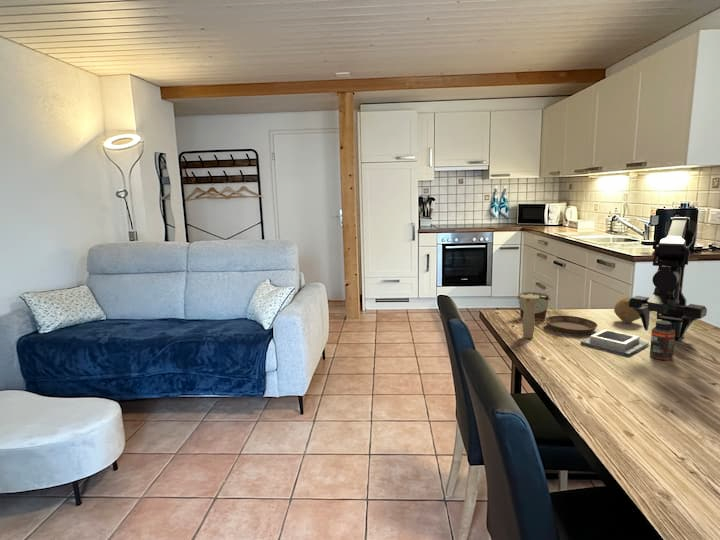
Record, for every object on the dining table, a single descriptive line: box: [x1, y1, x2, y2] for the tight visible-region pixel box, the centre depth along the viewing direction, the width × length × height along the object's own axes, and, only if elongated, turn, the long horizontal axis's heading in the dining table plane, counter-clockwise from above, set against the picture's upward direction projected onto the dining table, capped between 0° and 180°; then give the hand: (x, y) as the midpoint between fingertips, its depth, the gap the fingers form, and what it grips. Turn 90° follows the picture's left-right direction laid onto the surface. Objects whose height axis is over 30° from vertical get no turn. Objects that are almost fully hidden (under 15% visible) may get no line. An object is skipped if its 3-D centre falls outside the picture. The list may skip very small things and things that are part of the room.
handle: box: [520, 295, 539, 339], centre depth 154 cm, size 5×6×15 cm
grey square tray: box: [580, 328, 650, 358], centre depth 145 cm, size 15×15×3 cm
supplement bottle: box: [649, 320, 676, 361], centre depth 133 cm, size 6×6×11 cm
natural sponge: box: [613, 296, 641, 324], centre depth 168 cm, size 9×9×10 cm
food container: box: [517, 291, 551, 321], centre depth 179 cm, size 12×6×10 cm, turn 71°
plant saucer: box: [544, 315, 598, 336], centre depth 163 cm, size 18×18×3 cm
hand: (663, 333), depth 132 cm, fingers open, 9 cm apart
